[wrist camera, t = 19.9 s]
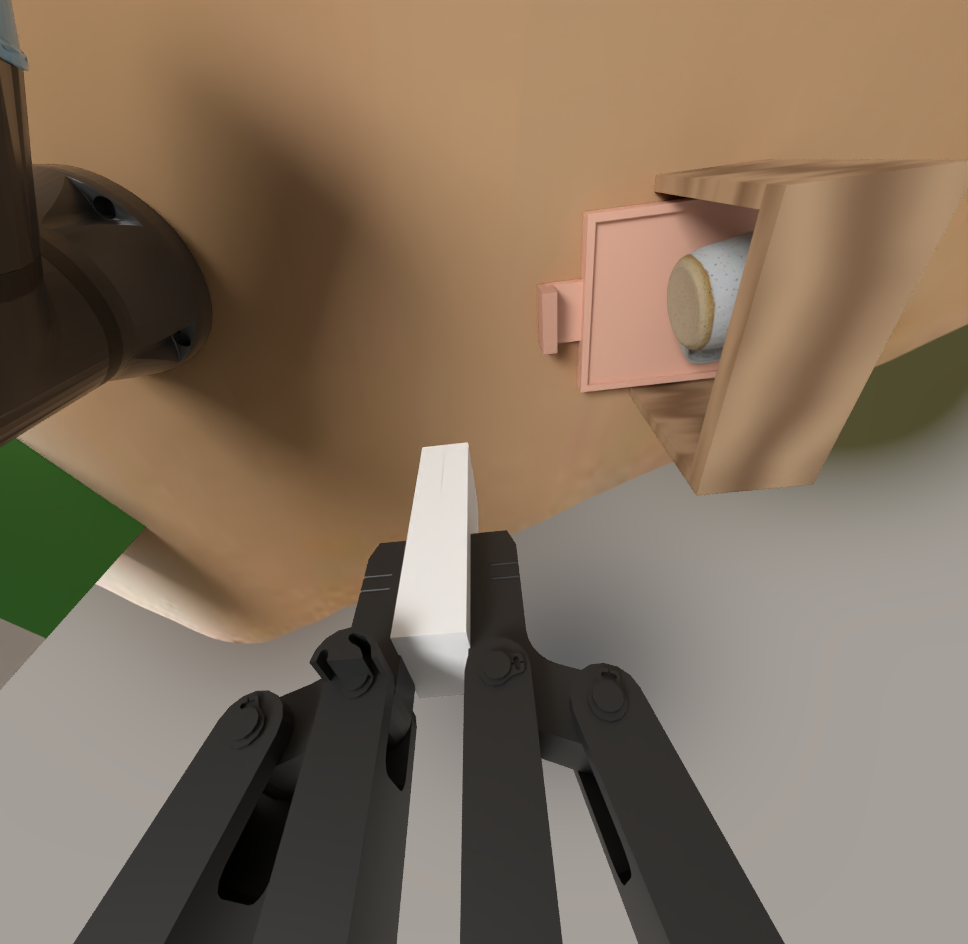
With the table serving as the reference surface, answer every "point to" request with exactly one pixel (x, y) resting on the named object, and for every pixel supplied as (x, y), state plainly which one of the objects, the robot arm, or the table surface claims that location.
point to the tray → (633, 291)
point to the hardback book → (48, 549)
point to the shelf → (801, 311)
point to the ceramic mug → (706, 296)
